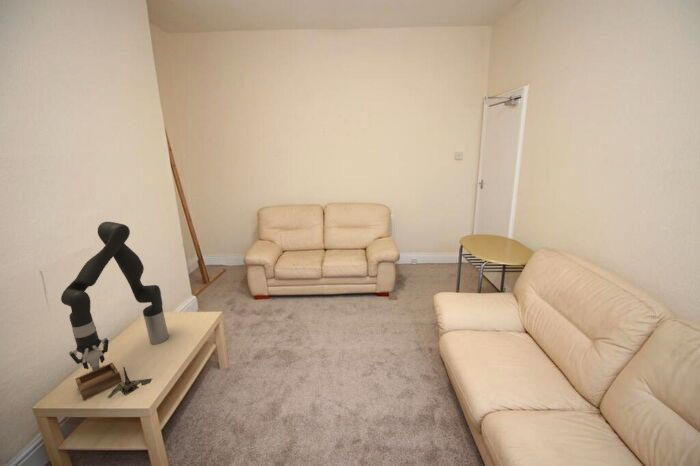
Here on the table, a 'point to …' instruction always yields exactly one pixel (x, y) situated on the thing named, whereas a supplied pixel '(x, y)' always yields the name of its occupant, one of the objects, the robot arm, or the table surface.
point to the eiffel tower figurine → (128, 385)
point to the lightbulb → (93, 359)
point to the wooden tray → (98, 380)
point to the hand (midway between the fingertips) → (94, 365)
